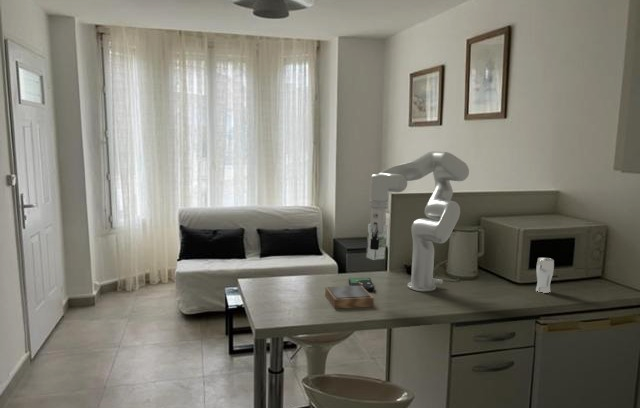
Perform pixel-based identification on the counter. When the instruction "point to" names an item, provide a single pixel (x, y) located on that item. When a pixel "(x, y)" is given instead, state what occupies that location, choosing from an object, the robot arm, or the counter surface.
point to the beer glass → (544, 274)
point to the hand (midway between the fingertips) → (376, 247)
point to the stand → (349, 297)
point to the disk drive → (362, 283)
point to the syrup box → (381, 251)
